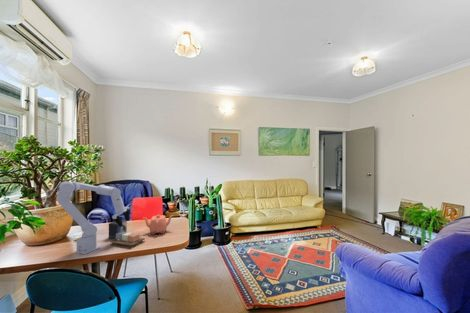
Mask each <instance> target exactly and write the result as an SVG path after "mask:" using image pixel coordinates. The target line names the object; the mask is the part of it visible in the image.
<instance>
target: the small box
mask: <svg viewBox="0 0 470 313" xmlns="http://www.w3.org/2000/svg"><path fill="white" fill-rule="evenodd" d="M127 222H128V221H126V219H122V224H123V226H122V227H119V226H118V224H117V223H116V222H115V221H114V220H113V221H112V222H109V223H108V239H111V240H114V239H116V233H119V232H121V231H122V232H128V231H127V229H128V228H127V227H128V226H127V224H128V223H127Z"/></svg>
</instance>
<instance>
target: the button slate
mask: <svg viewBox="0 0 470 313" xmlns="http://www.w3.org/2000/svg"><path fill="white" fill-rule="evenodd" d="M127 232H128V231H127ZM127 232H122V231H121V232H119V233H116V239H118V240H122V235H123V234H125V233H127Z"/></svg>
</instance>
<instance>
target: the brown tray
mask: <svg viewBox="0 0 470 313" xmlns="http://www.w3.org/2000/svg"><path fill="white" fill-rule="evenodd" d="M145 240H146V239H145V238H144V237H140V236H139V240H137V241H135V242H129V241H124V240H118V239H111V240H109V243H110V244H109V245H110V246H115V247H120V248H125V249H130V250H131V249H133V248H135V247H137V246H139V245H141V244H143V243H145V242H146V241H145Z"/></svg>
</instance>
